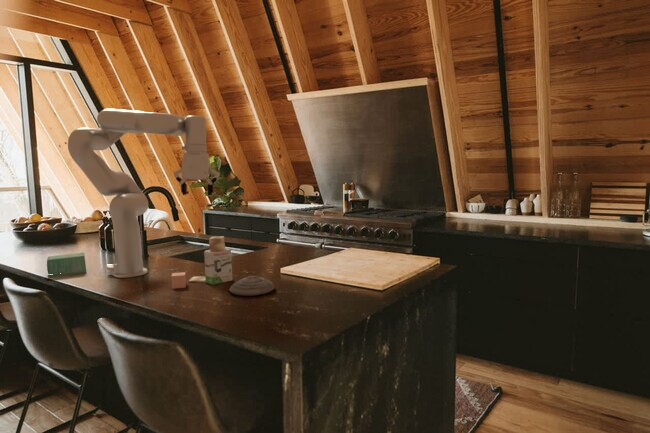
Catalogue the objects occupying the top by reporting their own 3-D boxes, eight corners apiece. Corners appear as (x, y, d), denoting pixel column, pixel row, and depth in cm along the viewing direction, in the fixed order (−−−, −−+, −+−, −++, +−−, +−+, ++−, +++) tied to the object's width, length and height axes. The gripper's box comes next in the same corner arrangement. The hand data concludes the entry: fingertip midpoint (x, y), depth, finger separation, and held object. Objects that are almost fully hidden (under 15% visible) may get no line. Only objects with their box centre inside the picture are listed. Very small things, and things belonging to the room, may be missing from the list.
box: (48, 274, 188) (46, 255, 187) (86, 269, 195) (84, 252, 194) (47, 278, 182) (46, 259, 181) (86, 273, 188) (85, 255, 187)
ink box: (212, 285, 165) (210, 252, 164) (205, 282, 169) (203, 250, 167) (233, 280, 171) (231, 248, 170) (225, 278, 175) (223, 247, 173)
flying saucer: (235, 286, 164) (234, 271, 163) (277, 285, 163) (277, 270, 163) (224, 299, 149) (223, 282, 148) (271, 298, 148) (270, 281, 148)
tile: (188, 282, 170) (188, 280, 170) (193, 278, 176) (193, 276, 176) (205, 281, 170) (205, 280, 170) (209, 277, 176) (209, 276, 176)
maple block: (209, 251, 166) (209, 238, 166) (212, 248, 171) (211, 236, 170) (222, 250, 166) (221, 238, 166) (225, 248, 171) (224, 236, 170)
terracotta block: (172, 288, 162) (171, 276, 161) (172, 285, 166) (172, 273, 166) (185, 287, 163) (185, 275, 163) (186, 284, 167) (185, 272, 167)
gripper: (169, 149, 172) (171, 195, 174) (216, 149, 172) (217, 196, 174) (176, 149, 179) (178, 193, 182) (221, 149, 179) (222, 194, 181)
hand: (197, 194), depth 178 cm, fingers open, 9 cm apart
